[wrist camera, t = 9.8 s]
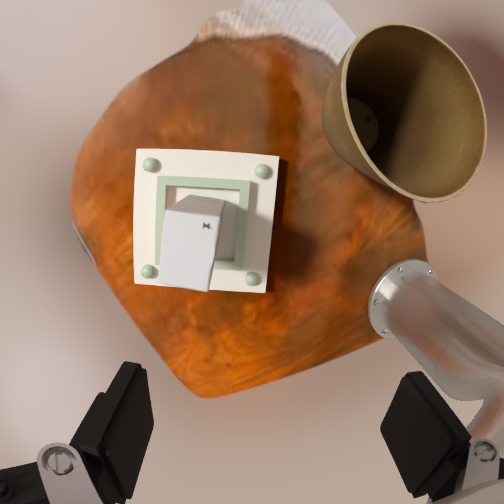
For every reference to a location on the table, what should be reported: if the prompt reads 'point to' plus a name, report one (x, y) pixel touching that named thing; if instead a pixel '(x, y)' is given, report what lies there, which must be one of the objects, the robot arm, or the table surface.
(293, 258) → the table surface
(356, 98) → the plant pot
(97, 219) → the table surface
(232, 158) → the baseplate
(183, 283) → the skincare box
